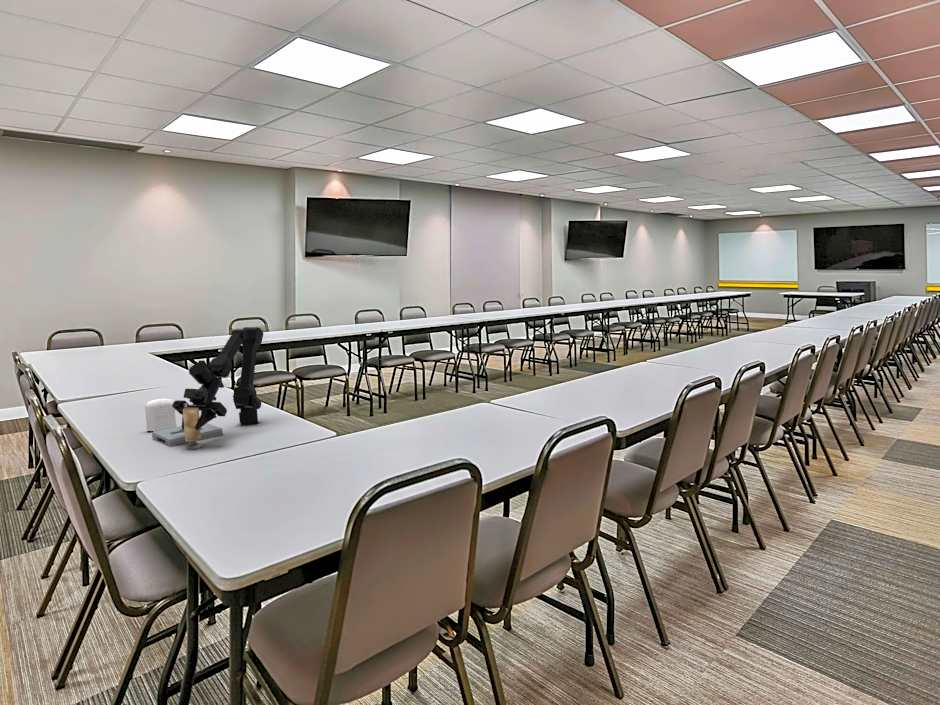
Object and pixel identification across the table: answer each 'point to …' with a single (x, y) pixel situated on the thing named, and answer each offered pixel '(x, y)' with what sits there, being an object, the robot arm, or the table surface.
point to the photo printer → (160, 414)
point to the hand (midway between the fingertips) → (189, 429)
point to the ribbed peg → (191, 427)
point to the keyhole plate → (178, 434)
